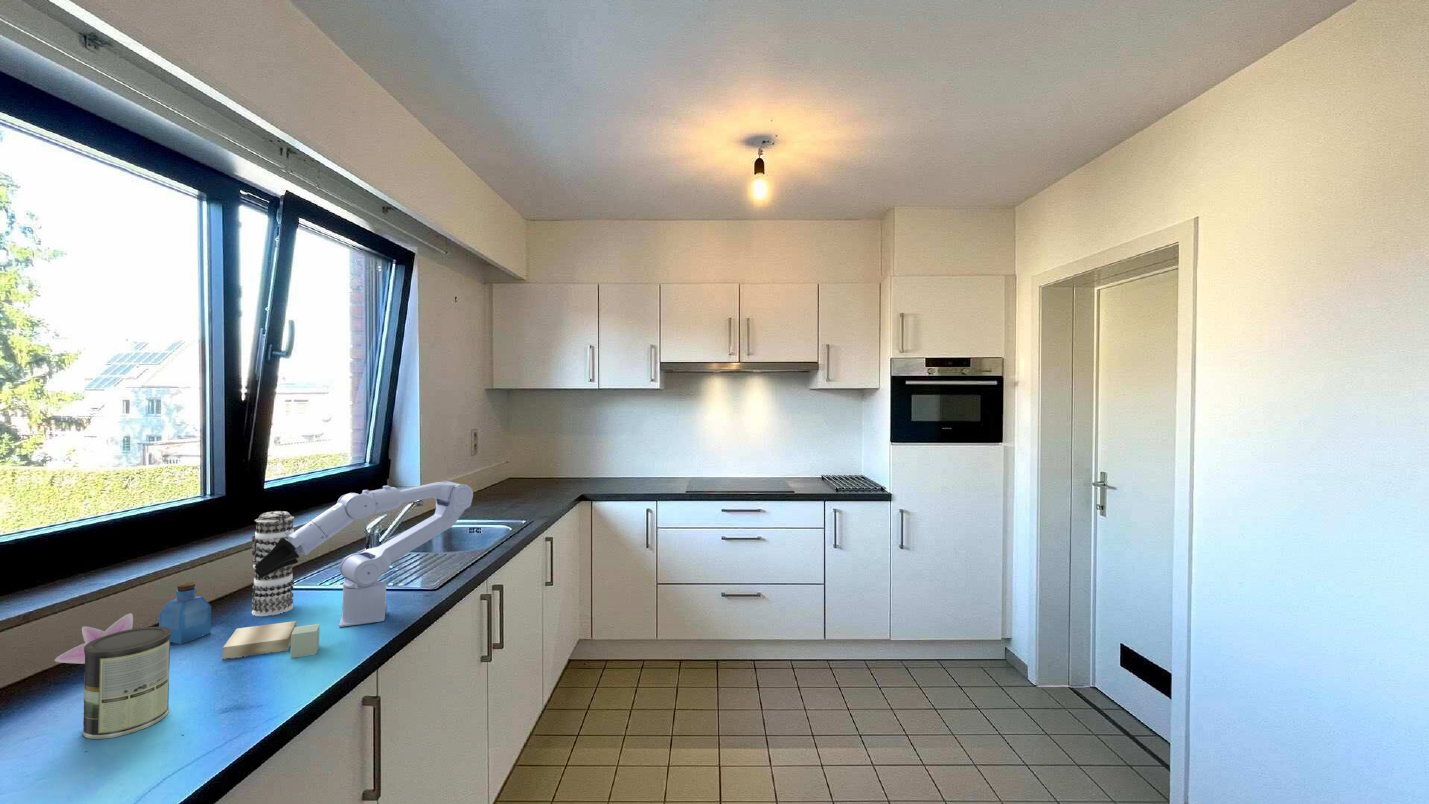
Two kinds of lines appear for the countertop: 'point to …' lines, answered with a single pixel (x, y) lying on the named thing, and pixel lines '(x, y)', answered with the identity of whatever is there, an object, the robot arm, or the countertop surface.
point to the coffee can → (126, 682)
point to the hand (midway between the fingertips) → (257, 572)
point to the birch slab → (259, 640)
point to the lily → (91, 634)
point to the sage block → (305, 640)
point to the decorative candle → (277, 585)
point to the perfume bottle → (186, 615)
